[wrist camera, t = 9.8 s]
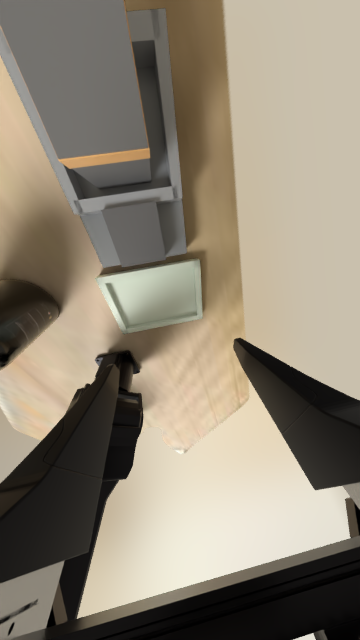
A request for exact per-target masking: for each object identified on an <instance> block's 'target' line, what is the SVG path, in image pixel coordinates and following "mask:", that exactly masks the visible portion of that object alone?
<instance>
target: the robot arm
mask: <svg viewBox="0 0 360 640" xmlns="http://www.w3.org/2000/svg"><path fill="white" fill-rule="evenodd" d="M233 348H234V351H235V353H236V355H237V357H238V359H239V362H240V364H241V366H242V368H243V370H244V371H245V373H246V375H247V377H248V378H249V380H250V382H251V383H252V385H253V387H254V388H255V390H256V392H257V393H258V395H259V397H260V398H261V400H262V402H263V403H264V405H265V407H266V409H267V410H268V412H269V414H270V415H271V417H272V419H273V420H274V422H275V424H276V425H277V427H278V429H279V430H280V432H281V434H282V436H283V438H284V439H285V441H286V443H287V444H288V446H289V448H290V449H291V451H292V453H293V454H294V456H295V458H296V459H297V461H298V463H299V465H300V466H301V468H302V470H303V471H304V473H305V475H306V476H307V478H308V480H309V481H310V483H311V485H312V486H313V488H314V489H315V490H319V489H325V488H331V487H337V486H343V487H344V489H345V490H346V491H347V492H348V494H349V495H350V498H346V499H345V501H346V509H347V516H348V524H349V532H350V537H351V538H350V539H347V540H343V541H340V542H336V543H333V544H330V545H326V546H323V547H320V548H316V549H313V550H309V551H306V552H302V553H299V554H296V555H293V556H289V557H285V558H282V559H279V560H275V561H272V562H269V563H265V564H262V565H258V566H255V567H252V568H248V569H245V570H241V571H238V572H235V573H231V574H228V575H224V576H221V577H218V578H214V579H211V580H207V581H204V582H201V583H197V584H194V585H191V586H187V587H184V588H180V589H177V590H174V591H170V592H167V593H163V594H160V595H157V596H153V597H150V598H146V599H143V600H140V601H136V602H133V603H129V604H126V605H123V606H119V607H116V608H113V609H109V610H106V611H102V612H99V613H95V614H92V615H89V616H86V617H82V618H79V619H77V615H78V611H79V607H80V603H81V599H82V595H83V591H84V587H85V583H86V579H87V576H88V571H89V567H90V564H91V559H92V556H93V552H94V548H95V544H96V540H97V536H98V532H99V528H100V524H101V520H102V516H103V512H104V508H105V505H106V501H107V499H108V497H109V495H110V494H111V492H112V491H113V489H114V488H115V486H116V484H117V483H118V481H119V480H122V479H126V478H127V477H128V475H129V473H130V471H131V468H132V466H133V460H134V453H135V447H136V443H137V439H138V437H139V435H140V432H141V429H142V425H143V407H142V396H141V393H133V392H130V390H131V383H132V377H133V374H137V373H139V372H140V369H139V367H138V365H137V363H136V361H135V359H134V357H133V355H132V353H131V352H130V351H125V352H120V353H115V354H110V355H105V356H100V357H96V359H95V361H96V363H97V364H98V365H99V368H98V371H97V373H96V375H95V377H96V378H95V380H94V382H93V383H92V384H91V385H90V384H86V385H85V387H84V388H81V389H77V391H76V393H75V395H74V397H73V399H72V401H71V403H70V406H69V408H68V410H67V412H66V414H65V415H64V417H63V418H62V419H61V420H60V421H59V422H58V423H57V425H56V426H55V427H54V428H53V429H52V430H51V431H50V432H49V434H48V435H47V436H46V437H45V438H44V439H43V440H42V441H41V442H40V443H39V444H38V445H37V446H36V447H35V449H34V450H33V451H32V452H31V453H30V454H29V455H28V456H27V457H26V458H25V459H24V460H23V461H22V462H21V463H20V464H19V465H18V466H17V467H16V468H15V469H14V470H13V472H11V474H10V475H9V476H8V477H7V478H6V479H5V480H4V481H3V482H1V483H0V640H293V639H296V638H299V637H302V636H305V635H308V634H311V633H314V636H315V639H316V640H360V400H357V399H355V398H352V397H350V396H348V395H346V394H344V393H342V392H340V391H338V390H335V389H334V388H331V387H329V386H327V385H325V384H323V383H321V382H319V381H317V380H315V379H313V378H311V377H309V376H307V375H305V374H304V373H302V372H300V371H298V370H296V369H295V368H293V367H290V366H289V365H287V364H286V363H284V362H282V361H280V360H279V359H277V358H275V357H273V356H272V355H270V354H268V353H266V352H264V351H263V350H261V349H259V348H257V347H256V346H254V345H252V344H250V343H248V342H247V341H245V340H243V339H242V338H236V339H234V345H233ZM127 353H128V354H127Z"/></svg>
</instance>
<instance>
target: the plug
mask: <svg viewBox="0 0 360 640" xmlns="http://www.w3.org/2000/svg"><path fill="white" fill-rule="evenodd" d="M0 27H1V29H2V31H3V34H4V36H5V38H6V41H7V43H8V45H9V47H10V50H11V52H12V54H13V57H14V59H15V61H16V64H17V66H18V68H19V70H20V73H21V75H22V77H23V80H24V82H25V84H26V87H27V89H28V91H29V93H30V96H31V98H32V100H33V103H34V105H35V107H36V110H37V112H38V114H39V116H40V119H41V121H42V123H43V126H44V128H45V130H46V133H47V135H48V137H49V139H50V142H51V144H52V146H53V149H54V151H55V153H56V156H57V158H58V160H59V162H61V163H62V164H64V165H65V166H66V167H68V168H69V169H73V170H74V171H76V172H77V173H78V174H80V175H81V176H82V177H84V178H85V179H86V180H88V181H89V182H91V183H92V184H93V185H95V186H96V187H97V188H99V189H107V188H114V187H121V186H128V185H135V184H142V183H149V182H151V171H150V160H149V158H150V149H149V143H148V137H147V131H146V125H145V119H144V113H143V107H142V101H141V95H140V89H139V83H138V77H137V71H136V65H135V59H134V53H133V47H132V42H131V36H130V30H129V24H128V18H127V12H126V6H125V0H0Z"/></svg>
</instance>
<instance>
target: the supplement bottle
mask: <svg viewBox="0 0 360 640" xmlns="http://www.w3.org/2000/svg"><path fill="white" fill-rule="evenodd" d="M58 314H59V310H58V306H57V304H56V302H55V300H54V299H53V298H52V297H51V296H50V295H49V294H48V293H47V292H46V291H44V290H43V289H41V288H40V287H38V286H36V285H34V284H31V283H28V282H25V281H21V280H14V279H7V280H1V281H0V370H2V369H4V368H5V367H7V366H8V365H9V364H10V363H11V362H12V361H13V360H14V359H15V358H17V357H18V356H19V355H20V354H21V353H22V352H23V351H24V350H25V349H26V348H27V347H28V346H29V345H30V344H31V343H32V342H33V341H35V340H36V339H37V338H38V337H39V336H40V335H41V334H42V333H43V332H44V331H45V330H46V329H47V328H48V327H49V326H50V325H51V324H52V323H53V322H54V321H55V320H56V319H57V317H58Z"/></svg>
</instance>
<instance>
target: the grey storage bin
mask: <svg viewBox="0 0 360 640" xmlns="http://www.w3.org/2000/svg"><path fill="white" fill-rule="evenodd" d="M126 12H127V18H128V24H129V30H130V36H131V42H132V47H133V53H134V59H135V65H136V71H137V77H138V83H139V89H140V95H141V101H142V107H143V113H144V119H145V125H146V131H147V137H148V143H149V149H150V158H149V160H150V171H151V182H149V183H142V184H135V185H128V186H121V187H114V188H107V189H99V188H97V187H96V186H95V185H93V184H92V183H91V182H89V181H88V180H86V179H85V178H84V177H82V176H81V175H80V174H78V173H77V172H76V171H74V170H73V169H69V168H68V167H66V166H65V165H64V164H62V163H61V162H59V160H58V158H57V156H56V153H55V151H54V149H53V146H52V144H51V142H50V139H49V137H48V135H47V133H46V130H45V128H44V126H43V123H42V121H41V119H40V116H39V114H38V112H37V110H36V107H35V105H34V103H33V100H32V98H31V96H30V93H29V91H28V89H27V87H26V84H25V82H24V80H23V77H22V75H21V73H20V70H19V68H18V66H17V64H16V61H15V59H14V57H13V54H12V52H11V50H10V47H9V45H8V43H7V41H6V38H5V36H4V34H3V31H2V29H1V27H0V56H1V58H2V60H3V62H4V64H5V66H6V69H7V71H8V73H9V75H10V77H11V79H12V82H13V84H14V86H15V88H16V90H17V92H18V94H19V97H20V99H21V101H22V103H23V105H24V107H25V110H26V112H27V114H28V116H29V118H30V120H31V122H32V125H33V127H34V129H35V131H36V133H37V135H38V138H39V140H40V142H41V144H42V146H43V148H44V150H45V153H46V155H47V157H48V159H49V161H50V163H51V166H52V168H53V170H54V172H55V174H56V176H57V178H58V181H59V183H60V185H61V187H62V189H63V191H64V193H65V196H66V198H67V200H68V202H69V204H70V206H71V209H72V211H73V213H74V214H75V215H80V217H81V219H82V221H83V224H84V226H85V228H86V230H87V233H88V235H89V237H90V239H91V242H92V244H93V246H94V248H95V251H96V253H97V255H98V257H99V259H100V262H101V264H102V266H103V268H105V267H111V266H117V265H121V266H122V267H128V266H133V265H139V264H145V263H151V262H156V261H162V260H166V257H169V256H174V255H180V254H186V253H187V248H186V237H185V227H184V216H183V205H182V198H183V196H182V185H181V174H180V163H179V152H178V141H177V130H176V119H175V108H174V97H173V86H172V75H171V64H170V53H169V42H168V31H167V20H166V9H165V8H162V9H150V10H138V11H126Z"/></svg>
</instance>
